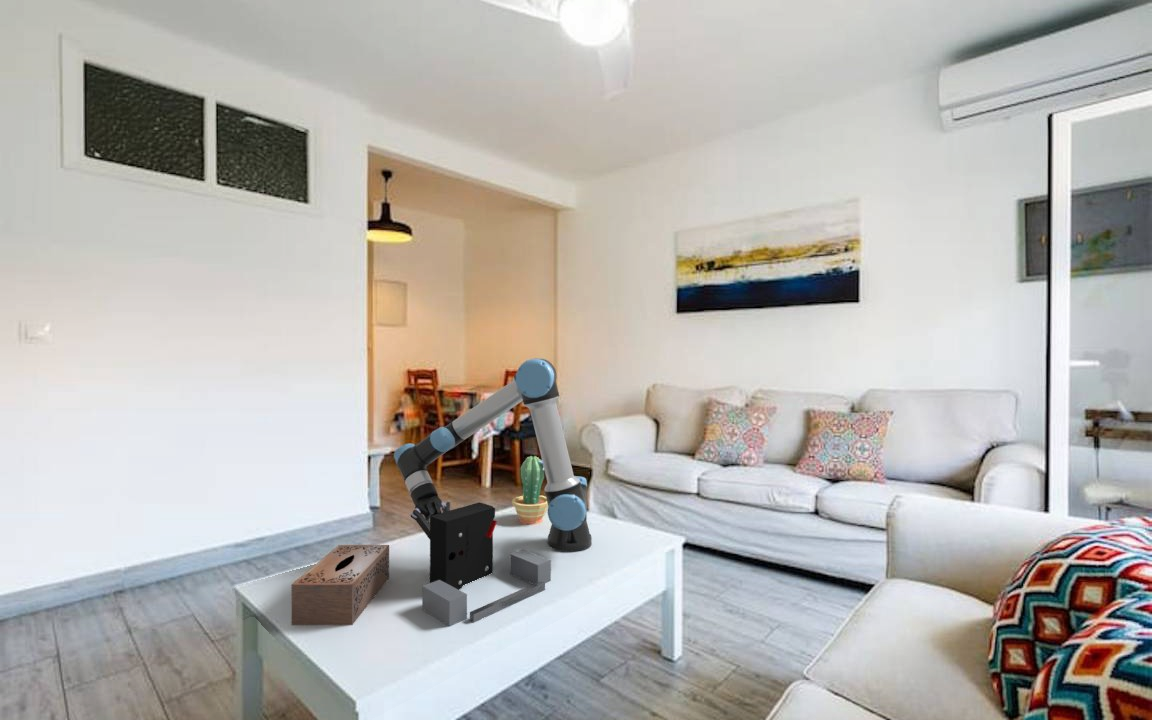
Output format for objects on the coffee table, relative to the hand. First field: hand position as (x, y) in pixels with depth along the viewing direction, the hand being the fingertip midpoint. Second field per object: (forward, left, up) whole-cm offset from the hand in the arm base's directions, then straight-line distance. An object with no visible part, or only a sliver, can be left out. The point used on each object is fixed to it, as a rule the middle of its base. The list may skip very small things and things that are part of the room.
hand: (452, 556), depth 151 cm
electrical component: (-1, +4, -6) cm, 7 cm away
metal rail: (-1, +25, -6) cm, 25 cm away
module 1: (+14, +17, -6) cm, 22 cm away
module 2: (-15, +17, -6) cm, 23 cm away
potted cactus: (-51, -21, -6) cm, 56 cm away
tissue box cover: (+27, -9, -7) cm, 29 cm away
